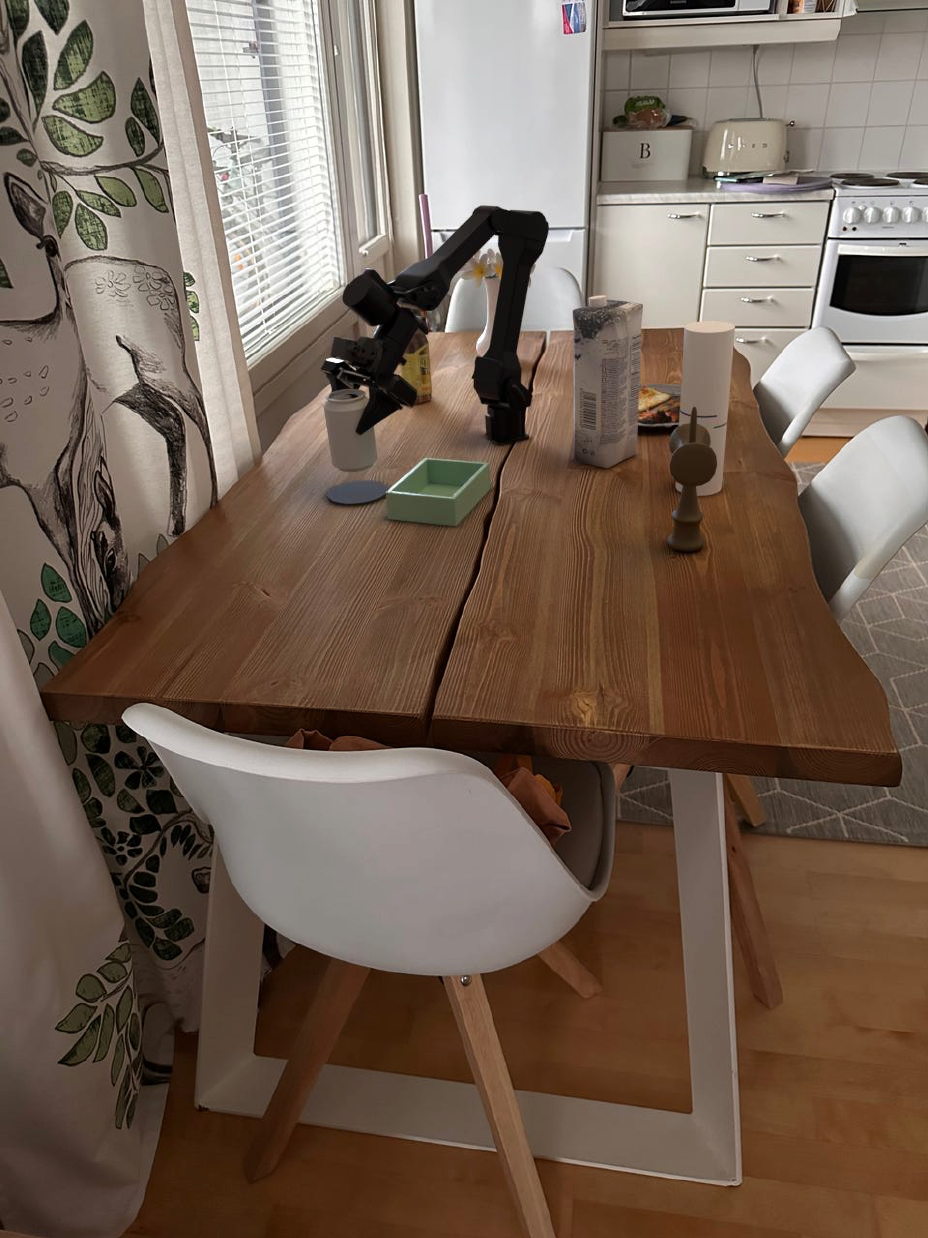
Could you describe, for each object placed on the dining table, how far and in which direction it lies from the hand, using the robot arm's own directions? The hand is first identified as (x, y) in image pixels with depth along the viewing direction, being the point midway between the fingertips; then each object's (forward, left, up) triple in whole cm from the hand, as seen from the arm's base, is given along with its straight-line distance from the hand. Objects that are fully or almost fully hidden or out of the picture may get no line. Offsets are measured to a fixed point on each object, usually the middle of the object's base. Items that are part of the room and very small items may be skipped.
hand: (343, 428), depth 147 cm
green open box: (-12, +11, -11) cm, 20 cm away
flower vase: (-56, -64, -12) cm, 86 cm away
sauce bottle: (-28, -44, -12) cm, 54 cm away
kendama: (-36, +43, -12) cm, 57 cm away
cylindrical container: (-50, +26, -12) cm, 57 cm away
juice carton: (-44, +7, -12) cm, 46 cm away
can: (-1, 0, -7) cm, 7 cm away
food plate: (-64, -9, -12) cm, 65 cm away
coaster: (-1, 0, -11) cm, 12 cm away
